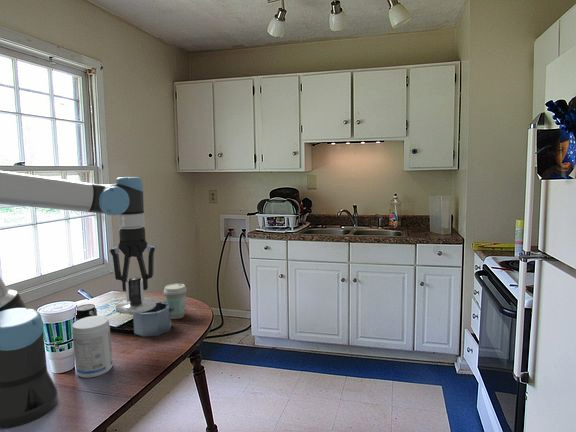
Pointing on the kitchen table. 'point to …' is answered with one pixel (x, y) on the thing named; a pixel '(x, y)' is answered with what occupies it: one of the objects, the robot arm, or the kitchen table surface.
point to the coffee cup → (176, 299)
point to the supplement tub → (92, 346)
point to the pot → (153, 320)
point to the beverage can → (86, 311)
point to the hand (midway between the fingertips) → (136, 300)
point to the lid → (135, 300)
